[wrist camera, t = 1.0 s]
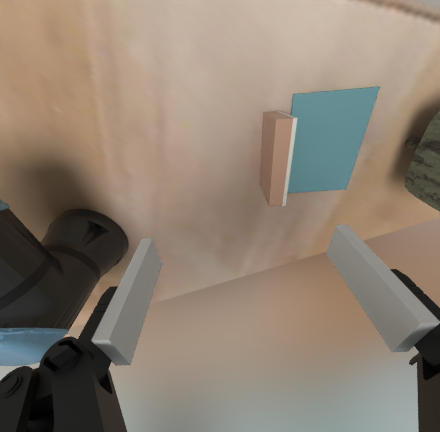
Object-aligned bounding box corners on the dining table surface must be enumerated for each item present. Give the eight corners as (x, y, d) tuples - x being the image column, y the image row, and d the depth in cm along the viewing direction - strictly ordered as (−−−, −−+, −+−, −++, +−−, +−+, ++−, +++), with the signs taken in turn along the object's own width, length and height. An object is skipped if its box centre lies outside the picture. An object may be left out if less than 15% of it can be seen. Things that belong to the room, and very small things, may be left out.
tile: (259, 184, 36) (268, 206, 29) (262, 112, 29) (276, 119, 22) (273, 183, 36) (285, 205, 29) (279, 111, 29) (297, 117, 22)
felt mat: (281, 192, 36) (282, 193, 36) (293, 94, 28) (293, 94, 27) (345, 188, 36) (346, 189, 36) (378, 86, 27) (379, 86, 27)
